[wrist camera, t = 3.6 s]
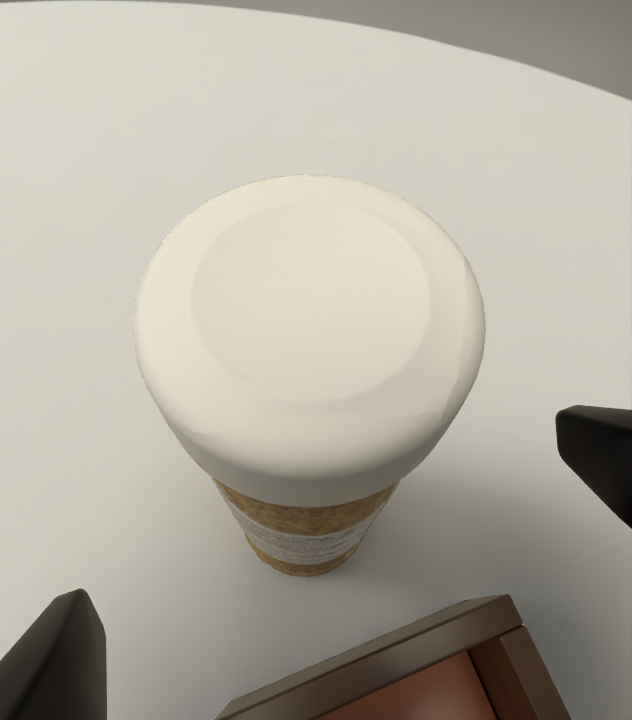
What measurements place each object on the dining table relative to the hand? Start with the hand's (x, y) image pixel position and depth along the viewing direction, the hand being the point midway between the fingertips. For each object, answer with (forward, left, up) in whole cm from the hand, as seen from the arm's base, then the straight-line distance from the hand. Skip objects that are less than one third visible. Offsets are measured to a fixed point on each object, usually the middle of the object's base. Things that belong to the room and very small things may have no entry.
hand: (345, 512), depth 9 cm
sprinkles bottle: (+2, -1, -9) cm, 10 cm away
